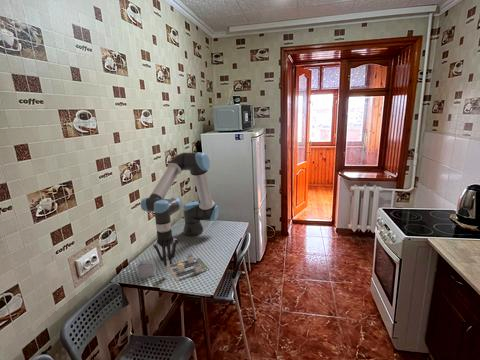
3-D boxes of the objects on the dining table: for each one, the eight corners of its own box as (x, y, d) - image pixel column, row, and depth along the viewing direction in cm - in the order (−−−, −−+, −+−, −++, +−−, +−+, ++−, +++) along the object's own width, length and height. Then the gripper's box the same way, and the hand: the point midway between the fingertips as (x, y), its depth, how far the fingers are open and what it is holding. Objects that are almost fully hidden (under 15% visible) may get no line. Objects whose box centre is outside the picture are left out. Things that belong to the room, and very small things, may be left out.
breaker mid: (177, 270, 145) (177, 263, 144) (183, 269, 147) (182, 262, 146) (179, 273, 143) (178, 266, 142) (184, 271, 144) (184, 264, 143)
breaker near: (194, 271, 144) (194, 264, 143) (199, 269, 145) (199, 262, 144) (196, 274, 141) (196, 266, 140) (201, 272, 143) (201, 265, 142)
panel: (168, 269, 149) (167, 266, 149) (203, 258, 160) (203, 255, 160) (176, 283, 136) (176, 280, 135) (214, 270, 146) (214, 267, 146)
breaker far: (187, 261, 154) (186, 255, 153) (192, 260, 155) (191, 253, 154) (189, 264, 151) (188, 257, 150) (194, 262, 153) (193, 255, 152)
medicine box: (156, 273, 146) (155, 259, 144) (154, 278, 142) (152, 263, 140) (142, 274, 146) (140, 260, 144) (140, 278, 141) (137, 264, 139)
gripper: (152, 235, 129) (158, 277, 134) (178, 229, 135) (182, 269, 140) (149, 230, 135) (154, 271, 140) (174, 224, 142) (178, 263, 147)
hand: (168, 270), depth 140 cm, fingers closed
